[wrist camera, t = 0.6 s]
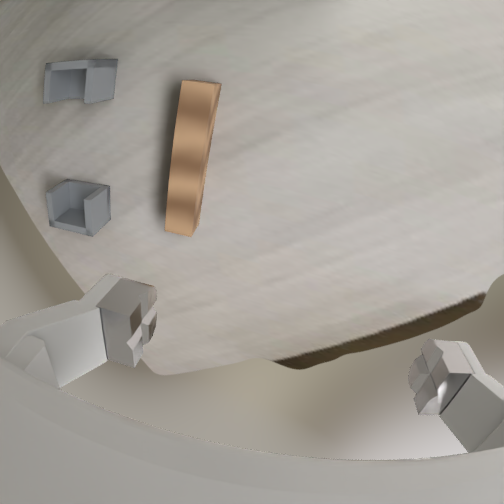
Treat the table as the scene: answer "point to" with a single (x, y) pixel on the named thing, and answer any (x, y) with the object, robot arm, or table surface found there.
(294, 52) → the table surface
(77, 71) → the endcap
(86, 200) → the endcap
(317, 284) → the table surface
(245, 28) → the table surface
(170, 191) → the slat
